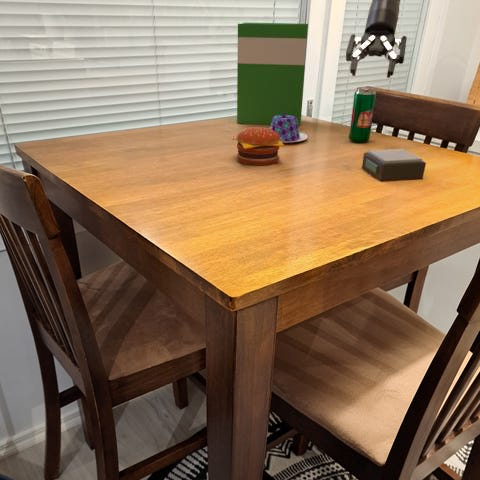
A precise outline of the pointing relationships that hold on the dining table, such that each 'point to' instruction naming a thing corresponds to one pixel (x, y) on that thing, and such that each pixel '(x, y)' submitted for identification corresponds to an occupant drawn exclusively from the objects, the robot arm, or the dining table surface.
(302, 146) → the dining table surface
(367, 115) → the soda can
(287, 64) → the hardback book
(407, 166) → the scale
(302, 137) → the pudding
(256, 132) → the hamburger
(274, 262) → the dining table surface
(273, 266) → the dining table surface
